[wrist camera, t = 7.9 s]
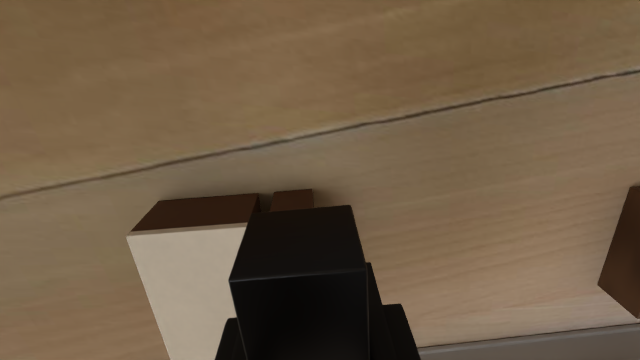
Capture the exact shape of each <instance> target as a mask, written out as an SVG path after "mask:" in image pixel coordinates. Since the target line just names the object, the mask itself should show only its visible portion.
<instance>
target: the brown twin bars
mask: <svg viewBox="0 0 640 360" xmlns="http://www.w3.org/2000/svg"><path fill="white" fill-rule="evenodd" d="M598 286H599V287H600V288H602V289H603V290H604V291H605V292H606V293H608V294H609V295H610V296H611V297H612V298H613V299H615V300H616V301H617V302H618V303H619V304H620V305H622V306H623V307H624V308H625V309H626V310H628V311H629V312H630V313H631V314H632V315H633V316H635V317H636V318H637V319H639V318H640V186H638V187H630V190H629V193H628V196H627V199H626V202H625V205H624V208H623V211H622V214H621V217H620V220H619V223H618V226H617V229H616V232H615V235H614V237H613V240H612V243H611V246H610V249H609V252H608V255H607V258H606V261H605V264H604V267H603V270H602V273H601V276H600V279H599V282H598Z"/></svg>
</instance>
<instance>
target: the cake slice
mask: <svg viewBox="0 0 640 360" xmlns="http://www.w3.org/2000/svg"><path fill="white" fill-rule="evenodd" d="M306 208H314V202H313V191H312V189H308V190H295V191H283V192H274V195H273V199H272V204H271V208H270V212H271V211H283V210H295V209H306Z"/></svg>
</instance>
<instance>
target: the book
mask: <svg viewBox="0 0 640 360" xmlns="http://www.w3.org/2000/svg"><path fill="white" fill-rule="evenodd" d="M417 350H418V352H419V355H420V358H421V360H640V324H631V325H622V326H613V327H604V328H595V329H586V330H577V331H568V332H559V333H550V334H541V335H532V336H524V337H515V338H506V339H497V340H488V341H479V342H470V343H461V344H452V345H443V346H434V347H425V348H417Z"/></svg>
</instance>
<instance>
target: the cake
mask: <svg viewBox="0 0 640 360" xmlns="http://www.w3.org/2000/svg"><path fill="white" fill-rule="evenodd" d="M259 212H261V206H260V200H259V194H258V193H256V194H243V195H230V196H217V197H204V198H191V199H179V200H166V201H158V202H157V203H156V204H155V206H154V207H153V208H152V209H151V210H150V211H149V212H148V213H147V214H146V215H145V216H144V217H143V218H142V219H141V221H140V222H139V223H138V224H137V225H136V226H135V227H134V228H133V229H132V230H131V232H129V234H128V235H127V236H126V238H127V241H128V244H129V247H130V249H131V252H132V255H133V258H134V260H135V263H136V266H137V269H138V271H139V274H140V277H141V280H142V282H143V285H144V288H145V291H146V294H147V296H148V299H149V302H150V305H151V307H152V310H153V313H154V316H155V318H156V321H157V324H158V327H159V329H160V332H161V335H162V338H163V340H164V343H165V346H166V349H167V352H168V354H169V357H170V360H215V357H216V354H217V350H218V347H219V343H220V340H221V337H222V333H223V330H224V326H225V323H226V321H227V319H228V318H235V317H237V316H236V312H235V308H234V303H233V299H232V295H231V291H230V287H229V282H228V279H229V276H230V273H231V270H232V267H233V264H234V261H235V259H236V256H237V253H238V250H239V247H240V244H241V241H242V238H243V235H244V232H245V229H246V226H247V223H248V220H249V217H250V215H251V213H259Z"/></svg>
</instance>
